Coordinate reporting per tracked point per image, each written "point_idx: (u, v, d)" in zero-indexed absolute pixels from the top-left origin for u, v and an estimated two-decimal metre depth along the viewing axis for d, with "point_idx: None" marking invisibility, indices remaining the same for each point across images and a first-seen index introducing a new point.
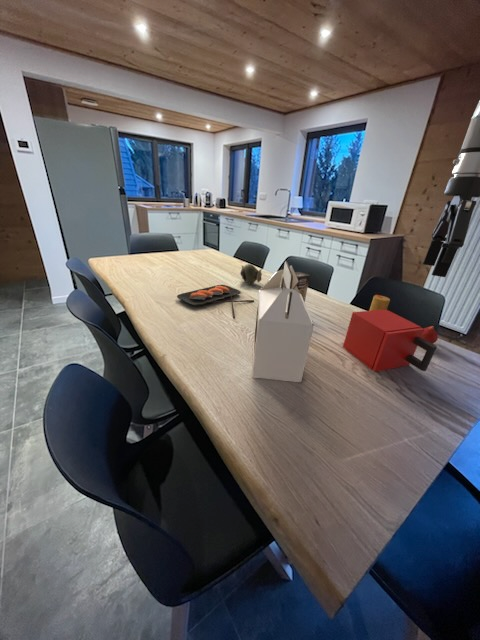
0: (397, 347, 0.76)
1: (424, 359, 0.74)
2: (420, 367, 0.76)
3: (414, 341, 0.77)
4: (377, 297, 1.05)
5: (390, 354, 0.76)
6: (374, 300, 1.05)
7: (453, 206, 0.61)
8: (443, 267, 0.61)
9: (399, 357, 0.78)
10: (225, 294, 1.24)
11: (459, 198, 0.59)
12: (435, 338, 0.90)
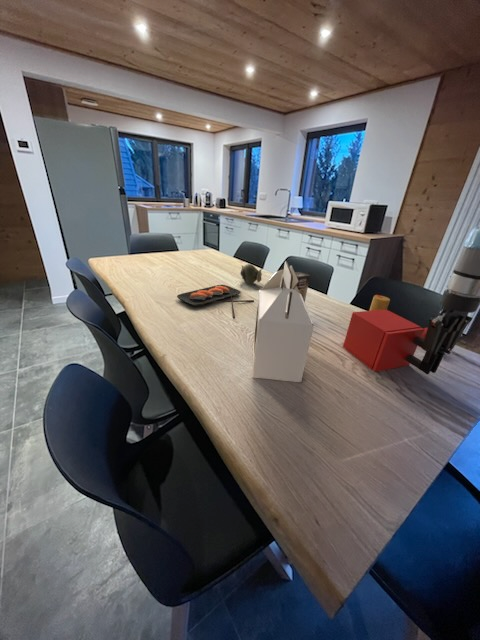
0: (397, 347, 0.76)
1: None
2: None
3: (414, 341, 0.77)
4: (377, 297, 1.05)
5: (390, 354, 0.76)
6: (374, 300, 1.05)
7: None
8: (426, 365, 0.73)
9: (399, 357, 0.78)
10: (225, 294, 1.24)
11: None
12: None
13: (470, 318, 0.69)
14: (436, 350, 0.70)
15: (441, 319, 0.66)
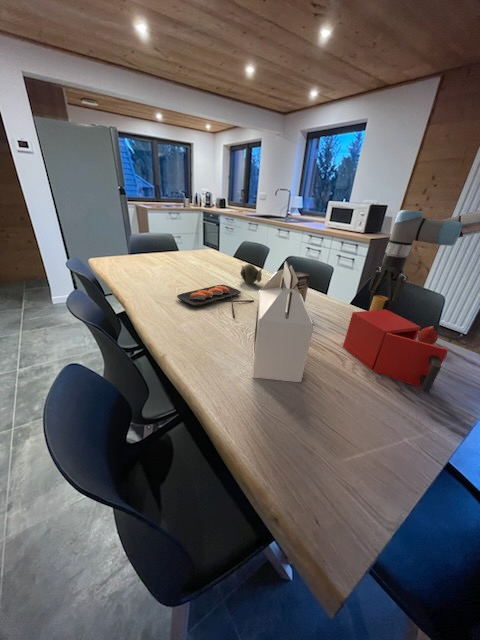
0: (403, 356, 0.72)
1: (425, 378, 0.66)
2: (421, 386, 0.68)
3: (429, 359, 0.68)
4: (377, 297, 1.05)
5: (393, 360, 0.73)
6: (374, 300, 1.05)
7: None
8: None
9: (409, 371, 0.72)
10: (225, 294, 1.24)
11: None
12: (435, 338, 0.90)
13: (401, 276, 0.95)
14: (372, 290, 1.07)
15: (379, 268, 1.04)
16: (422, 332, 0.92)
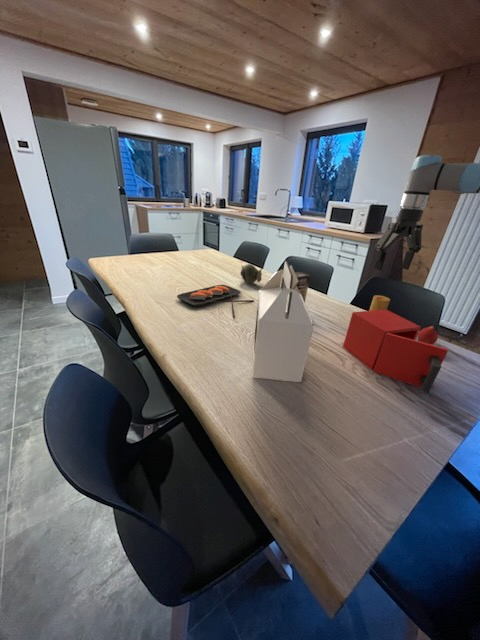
0: (403, 356, 0.72)
1: (425, 378, 0.66)
2: (421, 386, 0.68)
3: (429, 359, 0.68)
4: (384, 299, 1.03)
5: (393, 360, 0.73)
6: (386, 303, 1.03)
7: None
8: (379, 263, 0.96)
9: (409, 371, 0.72)
10: (225, 294, 1.24)
11: None
12: (435, 338, 0.90)
13: (420, 225, 0.94)
14: (385, 248, 0.93)
15: (396, 225, 0.91)
16: (422, 332, 0.92)
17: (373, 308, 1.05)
